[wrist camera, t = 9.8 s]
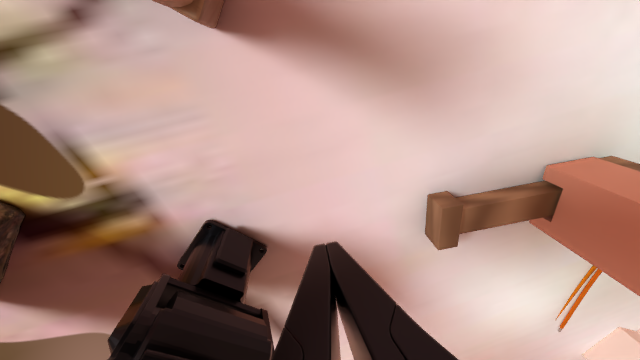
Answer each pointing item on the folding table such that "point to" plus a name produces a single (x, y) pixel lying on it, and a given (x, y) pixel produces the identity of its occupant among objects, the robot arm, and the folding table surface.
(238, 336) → the robot arm
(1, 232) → the stone block
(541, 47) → the folding table surface
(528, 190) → the rail
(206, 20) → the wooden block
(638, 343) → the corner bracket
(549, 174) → the block
